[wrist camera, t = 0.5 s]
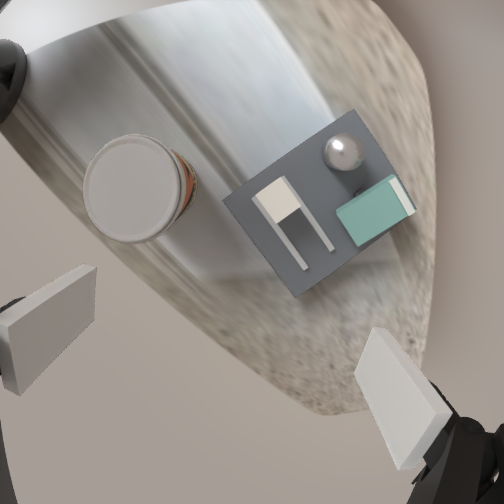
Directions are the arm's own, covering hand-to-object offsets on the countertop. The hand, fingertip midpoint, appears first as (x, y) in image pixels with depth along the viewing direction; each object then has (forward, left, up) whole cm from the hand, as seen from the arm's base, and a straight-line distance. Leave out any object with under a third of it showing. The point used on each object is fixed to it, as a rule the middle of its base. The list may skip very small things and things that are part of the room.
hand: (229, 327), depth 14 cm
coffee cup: (-10, -4, -24) cm, 27 cm away
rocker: (+5, +13, -18) cm, 22 cm away
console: (+2, +9, -24) cm, 26 cm away
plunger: (-2, +13, -20) cm, 24 cm away
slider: (-2, +5, -20) cm, 20 cm away
